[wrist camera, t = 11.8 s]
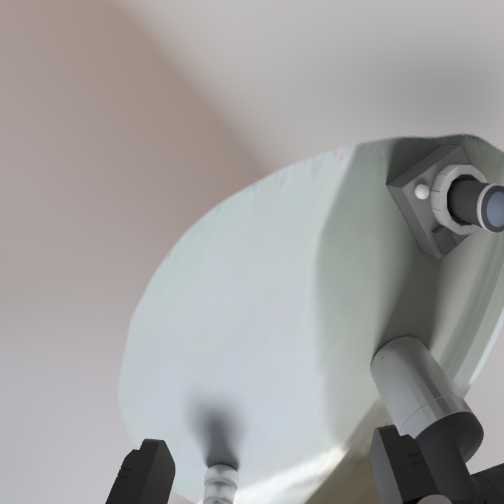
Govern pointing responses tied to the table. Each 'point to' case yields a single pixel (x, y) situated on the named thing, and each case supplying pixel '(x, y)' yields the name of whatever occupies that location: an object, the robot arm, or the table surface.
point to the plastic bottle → (220, 485)
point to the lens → (477, 203)
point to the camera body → (434, 198)
